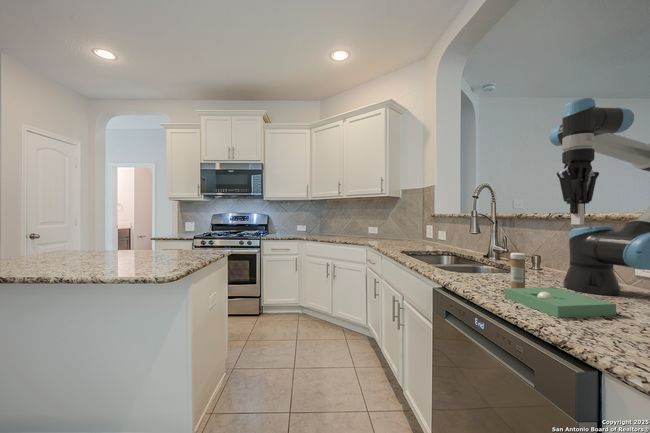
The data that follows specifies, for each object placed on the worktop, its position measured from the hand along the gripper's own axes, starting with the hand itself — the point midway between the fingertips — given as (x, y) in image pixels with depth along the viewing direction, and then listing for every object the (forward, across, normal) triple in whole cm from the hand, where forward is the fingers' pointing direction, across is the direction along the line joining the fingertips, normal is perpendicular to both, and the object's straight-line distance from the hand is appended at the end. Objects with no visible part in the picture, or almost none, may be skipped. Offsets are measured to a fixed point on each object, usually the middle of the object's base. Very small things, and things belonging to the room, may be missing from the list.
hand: (577, 224), depth 87 cm
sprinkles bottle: (+25, -8, +14) cm, 29 cm away
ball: (+22, -14, -3) cm, 27 cm away
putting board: (+24, -11, -3) cm, 27 cm away
